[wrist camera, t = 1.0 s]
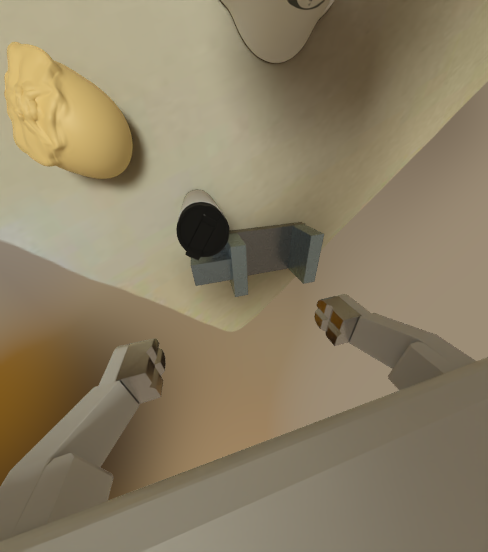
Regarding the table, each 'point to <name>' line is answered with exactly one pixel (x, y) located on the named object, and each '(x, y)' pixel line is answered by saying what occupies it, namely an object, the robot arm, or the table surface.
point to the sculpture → (64, 116)
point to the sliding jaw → (224, 266)
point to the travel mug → (201, 226)
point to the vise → (283, 249)
